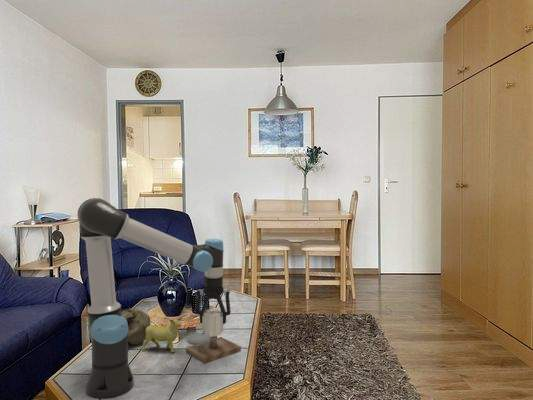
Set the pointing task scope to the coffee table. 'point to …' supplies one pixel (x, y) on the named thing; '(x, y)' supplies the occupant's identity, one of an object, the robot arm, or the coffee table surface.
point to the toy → (162, 334)
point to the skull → (136, 324)
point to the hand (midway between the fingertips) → (212, 330)
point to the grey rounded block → (212, 323)
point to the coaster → (198, 339)
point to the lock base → (213, 349)
